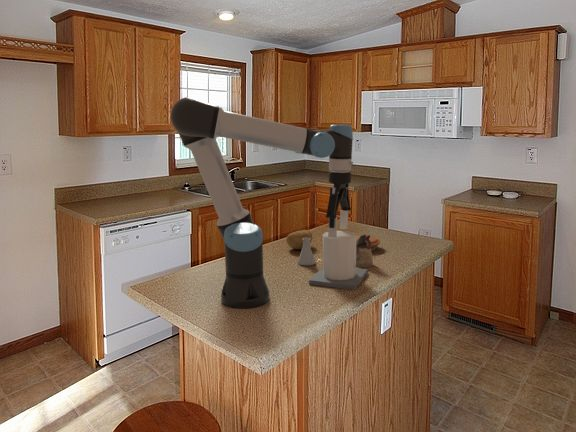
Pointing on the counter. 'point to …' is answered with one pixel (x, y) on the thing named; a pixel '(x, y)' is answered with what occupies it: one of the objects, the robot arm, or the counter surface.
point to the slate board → (345, 284)
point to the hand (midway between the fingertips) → (338, 232)
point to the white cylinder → (339, 256)
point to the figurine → (363, 252)
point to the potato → (298, 238)
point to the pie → (374, 242)
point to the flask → (306, 254)
